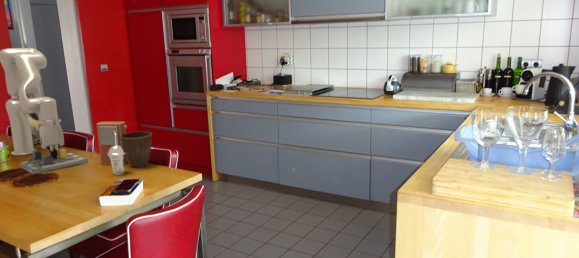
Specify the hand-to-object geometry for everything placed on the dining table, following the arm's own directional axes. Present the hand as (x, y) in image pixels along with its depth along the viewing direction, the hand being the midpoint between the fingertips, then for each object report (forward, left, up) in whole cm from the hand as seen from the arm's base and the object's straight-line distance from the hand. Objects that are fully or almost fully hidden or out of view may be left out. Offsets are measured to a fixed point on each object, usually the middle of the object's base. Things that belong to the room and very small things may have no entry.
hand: (54, 157), depth 226 cm
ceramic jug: (-62, +9, -4) cm, 63 cm away
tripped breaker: (0, +4, -1) cm, 4 cm away
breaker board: (0, -1, -4) cm, 4 cm away
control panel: (+22, +21, -4) cm, 31 cm away
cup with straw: (+41, +14, -4) cm, 44 cm away
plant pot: (+36, +27, -4) cm, 45 cm away
